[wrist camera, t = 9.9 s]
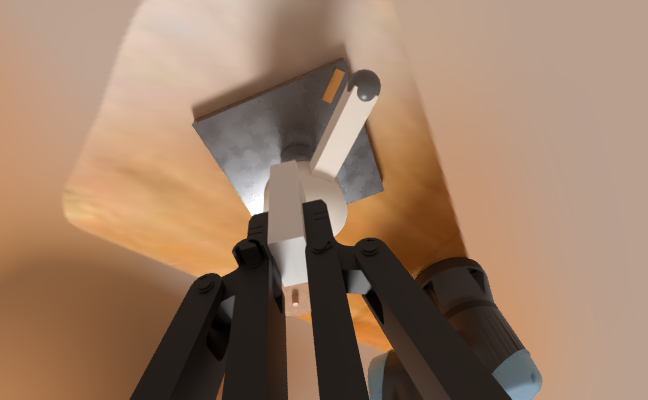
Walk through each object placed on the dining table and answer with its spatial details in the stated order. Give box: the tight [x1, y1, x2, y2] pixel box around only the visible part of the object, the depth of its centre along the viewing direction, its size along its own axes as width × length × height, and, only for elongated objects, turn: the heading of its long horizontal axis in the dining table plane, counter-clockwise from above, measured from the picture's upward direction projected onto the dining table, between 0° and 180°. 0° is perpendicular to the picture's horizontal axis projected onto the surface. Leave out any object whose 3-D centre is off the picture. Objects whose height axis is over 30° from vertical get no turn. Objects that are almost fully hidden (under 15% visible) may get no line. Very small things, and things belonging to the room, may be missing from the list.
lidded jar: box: [282, 282, 311, 316], centre depth 53 cm, size 11×11×9 cm
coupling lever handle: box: [263, 69, 381, 236], centre depth 33 cm, size 20×9×4 cm, turn 155°
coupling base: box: [192, 58, 384, 216], centre depth 41 cm, size 20×20×10 cm
